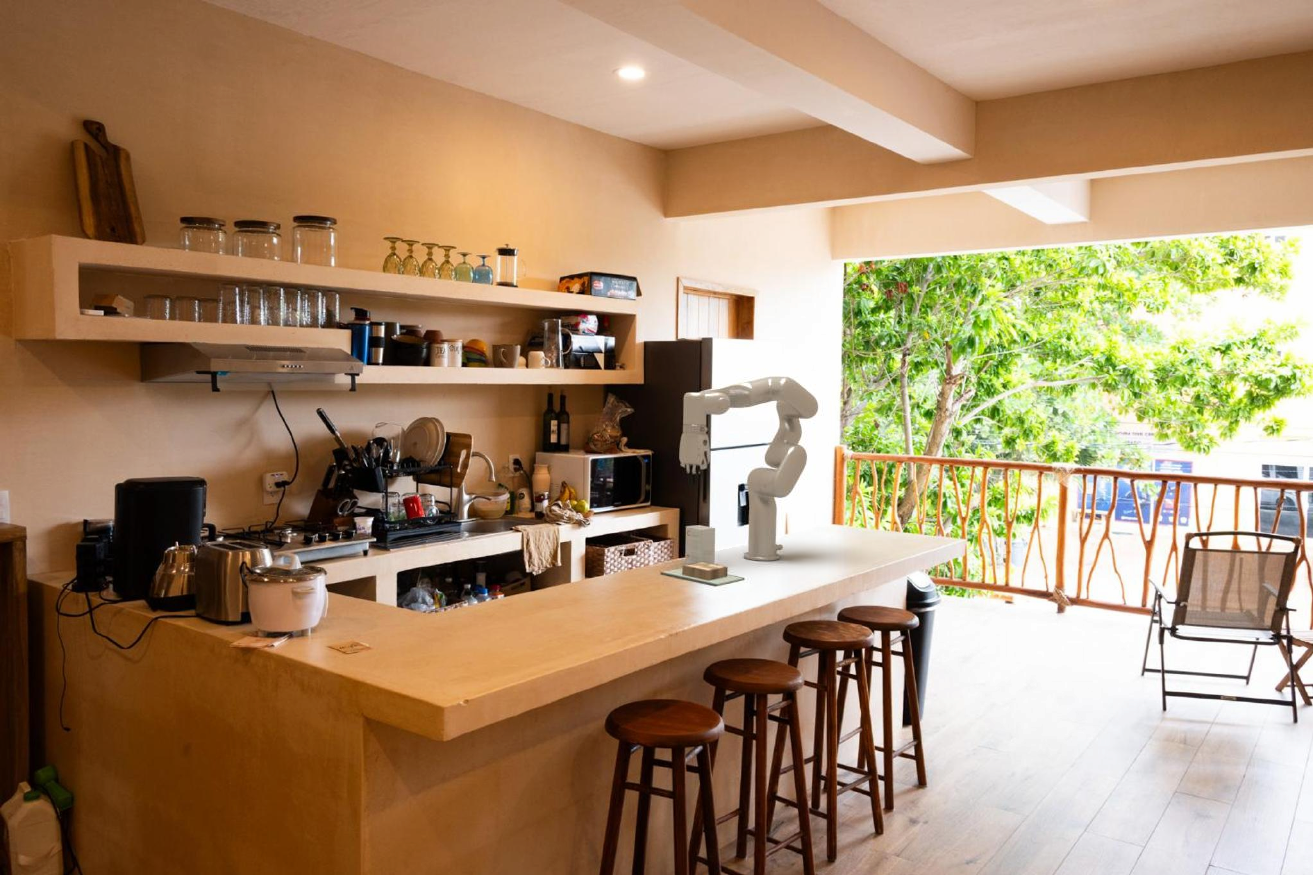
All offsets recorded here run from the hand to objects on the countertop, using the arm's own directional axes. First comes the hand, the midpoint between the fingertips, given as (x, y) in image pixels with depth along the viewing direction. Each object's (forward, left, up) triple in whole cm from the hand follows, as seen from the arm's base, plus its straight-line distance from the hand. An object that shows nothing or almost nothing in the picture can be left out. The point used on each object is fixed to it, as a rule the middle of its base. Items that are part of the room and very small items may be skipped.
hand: (693, 485), depth 319 cm
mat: (+10, +14, -27) cm, 32 cm away
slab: (+10, +9, -25) cm, 28 cm away
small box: (-3, +1, -27) cm, 28 cm away
